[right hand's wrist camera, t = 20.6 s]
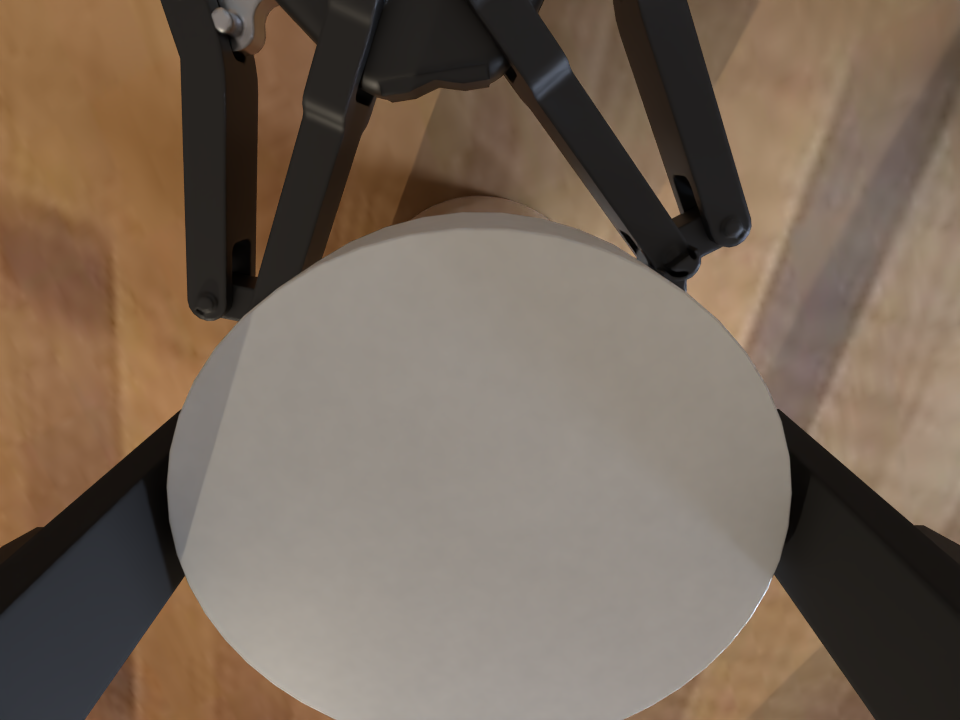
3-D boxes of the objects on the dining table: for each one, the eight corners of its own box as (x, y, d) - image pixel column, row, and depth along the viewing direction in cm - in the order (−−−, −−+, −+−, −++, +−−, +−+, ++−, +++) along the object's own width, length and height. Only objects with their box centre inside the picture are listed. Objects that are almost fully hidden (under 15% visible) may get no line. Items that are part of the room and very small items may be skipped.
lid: (792, 567, 14) (853, 648, 11) (382, 709, 15) (366, 804, 13) (631, 99, 10) (675, 83, 8) (113, 361, 12) (26, 411, 9)
